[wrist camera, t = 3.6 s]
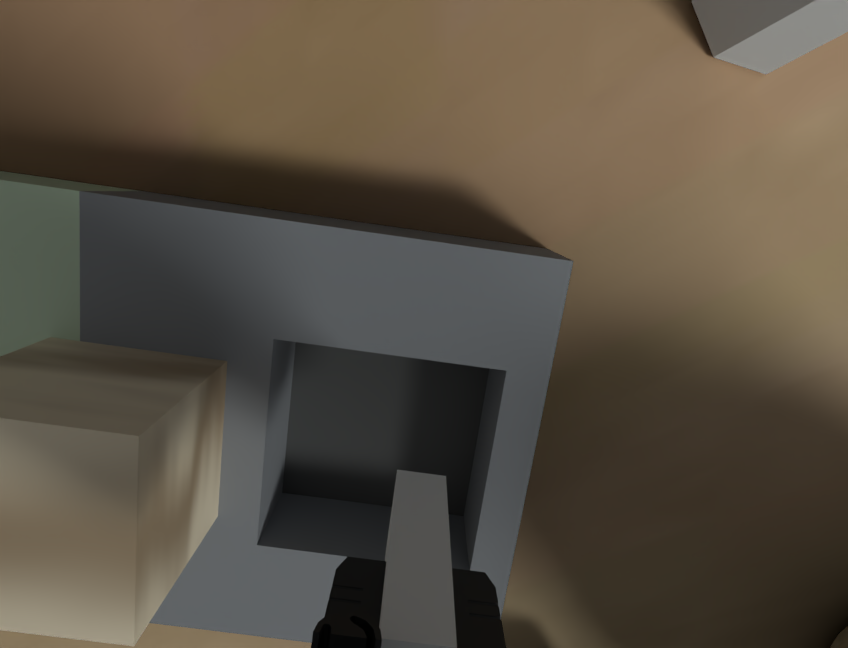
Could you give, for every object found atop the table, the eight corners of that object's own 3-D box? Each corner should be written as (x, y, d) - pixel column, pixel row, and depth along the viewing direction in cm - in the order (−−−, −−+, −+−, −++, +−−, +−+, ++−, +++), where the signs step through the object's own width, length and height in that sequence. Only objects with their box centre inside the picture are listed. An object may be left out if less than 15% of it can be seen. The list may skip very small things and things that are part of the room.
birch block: (50, 337, 19) (-119, 402, 13) (227, 361, 19) (138, 436, 13) (52, 495, 20) (-99, 618, 14) (217, 516, 20) (134, 646, 15)
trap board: (-415, 111, 21) (-606, 94, 17) (547, 248, 22) (573, 261, 18) (-341, 489, 25) (-483, 545, 21) (481, 593, 26) (491, 664, 22)
